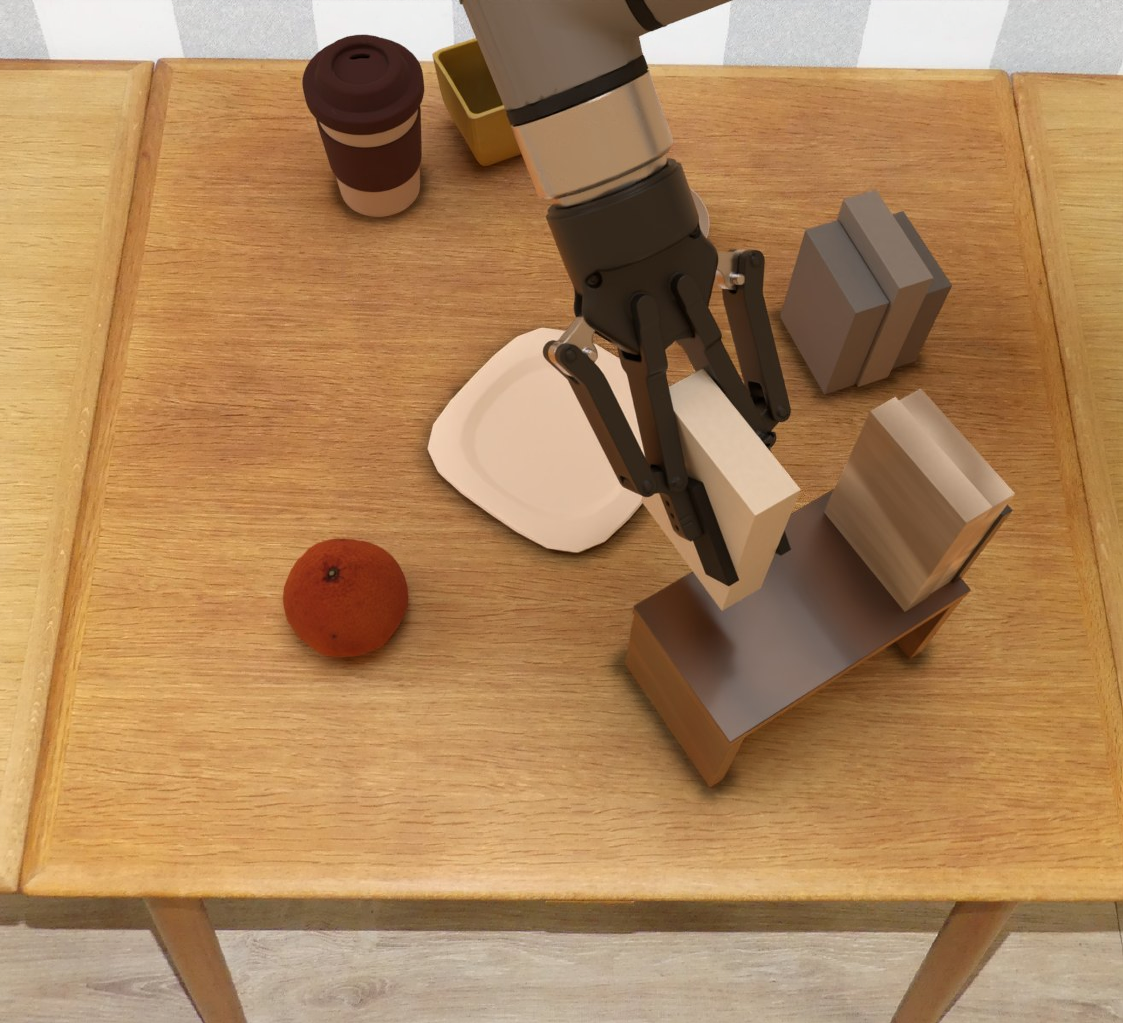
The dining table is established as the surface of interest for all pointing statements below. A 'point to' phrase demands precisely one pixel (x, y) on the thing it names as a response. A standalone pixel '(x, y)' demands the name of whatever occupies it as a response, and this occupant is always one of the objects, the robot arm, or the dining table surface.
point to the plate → (535, 448)
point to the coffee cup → (369, 120)
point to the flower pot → (475, 102)
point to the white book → (728, 486)
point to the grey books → (862, 294)
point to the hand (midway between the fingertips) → (747, 561)
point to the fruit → (345, 597)
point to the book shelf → (825, 586)
